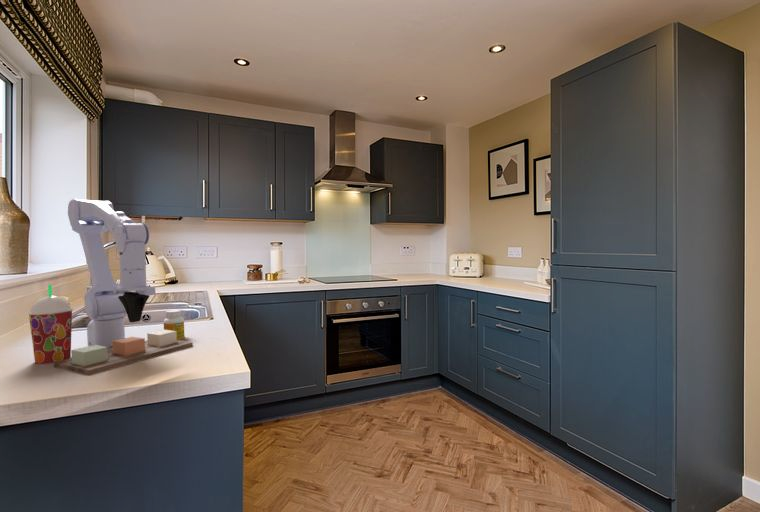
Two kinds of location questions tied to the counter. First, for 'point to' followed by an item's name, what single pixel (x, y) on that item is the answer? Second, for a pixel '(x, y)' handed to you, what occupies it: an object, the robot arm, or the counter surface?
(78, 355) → the key sage
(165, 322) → the supplement bottle
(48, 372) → the counter surface
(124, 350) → the key terracotta
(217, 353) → the counter surface
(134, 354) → the brown rectangular tray
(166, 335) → the key cream
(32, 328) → the smoothie
